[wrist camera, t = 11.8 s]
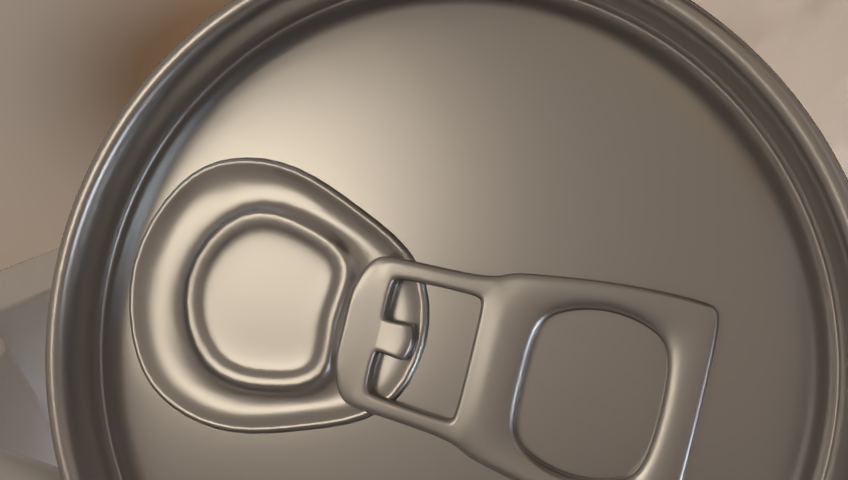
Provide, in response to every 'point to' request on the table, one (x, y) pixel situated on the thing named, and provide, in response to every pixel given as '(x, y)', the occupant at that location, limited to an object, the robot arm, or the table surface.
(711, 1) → the table surface
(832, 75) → the table surface
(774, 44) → the table surface
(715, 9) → the table surface
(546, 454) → the can
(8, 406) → the robot arm
